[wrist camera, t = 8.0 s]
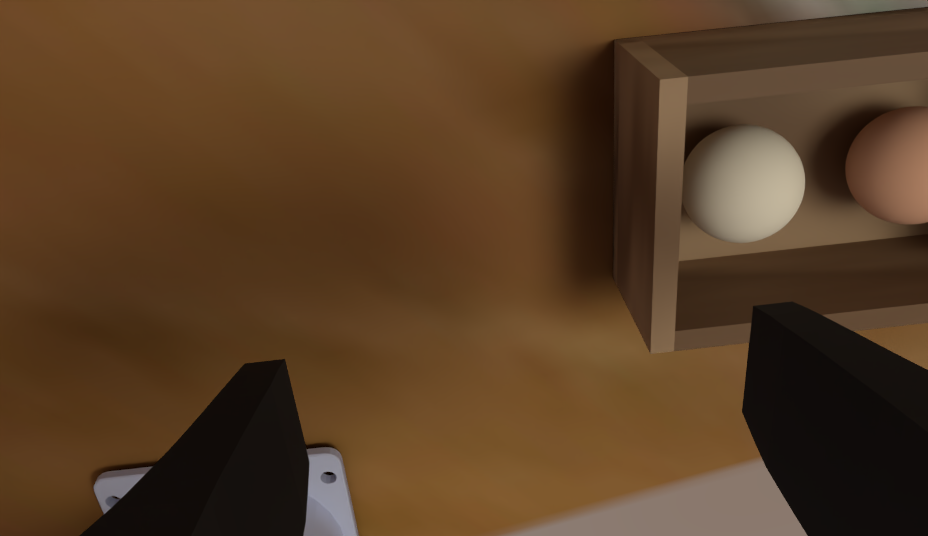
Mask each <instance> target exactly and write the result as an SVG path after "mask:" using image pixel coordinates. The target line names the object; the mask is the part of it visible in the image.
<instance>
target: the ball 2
mask: <svg viewBox="0 0 928 536" xmlns="http://www.w3.org/2000/svg"><path fill="white" fill-rule="evenodd" d="M845 172H846V180H847V184H848V187H849V189H850V192H851V193H852V195H853V197H854V198H855V200H856V201H857V202H858V203H859V205H860V206H861V207H862V208H864V209H865V210H866V211H867V212H869V213H870V214H872V215H874V216H875V217H877V218H880V219H882V220H885V221H888V222H892V223H897V224H906V225H907V224H921V223H926V222H928V107H923V106H912V107H904V108H899V109H896V110H892V111H889V112H887V113H884V114H882V115H881V116H879V117H877V118H876V119H874V120H873V121H871V122H870V123H869V124H867V125H866V126H865V127H864V128H863V129H862V130H861V131H860V132H859V134H858V135H857V136H856V138H855V139H854V141H853V142H852V144H851V147H850V149H849V151H848V154H847V158H846V165H845Z"/></svg>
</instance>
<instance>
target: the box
mask: <svg viewBox="0 0 928 536" xmlns="http://www.w3.org/2000/svg"><path fill="white" fill-rule="evenodd" d="M912 106H923V107H928V7H924V8H914V9H905V10H895V11H885V12H876V13H866V14H857V15H847V16H837V17H828V18H818V19H808V20H799V21H789V22H780V23H770V24H760V25H751V26H741V27H731V28H722V29H712V30H703V31H693V32H683V33H674V34H664V35H654V36H645V37H635V38H626V39H616V40H614V196H613V279H614V281H615V283H616V285H617V287H618V289H619V291H620V293H621V295H622V297H623V299H624V301H625V303H626V305H627V307H628V309H629V311H630V313H631V315H632V317H633V319H634V321H635V323H636V325H637V327H638V329H639V331H640V333H641V335H642V337H643V339H644V342H645V344H646V346H647V348H648V350H649V352H650V354H653V353H662V352H670V351H679V350H688V349H697V348H706V347H715V346H724V345H733V344H742V343H749V341H750V331H751V321H752V311H753V306H756V305H765V304H774V303H782V302H791V301H793V302H795V303H797V304H800V305H802V306H804V307H806V308H808V309H811V310H813V311H815V312H817V313H819V314H821V315H823V316H825V317H827V318H828V319H830V320H832V321H834V322H836V323H838V324H840V325H842V326H844V327H846V328H848V329H849V330H851V331H859V330H868V329H877V328H886V327H895V326H904V325H913V324H922V323H928V222H926V223H921V224H907V225H906V224H897V223H892V222H888V221H885V220H882V219H880V218H877V217H875V216H874V215H872V214H870V213H869V212H867V211H866V210H865V209H864V208H862V207H861V206H860V205H859V203H858V202H857V201H856V200H855V198H854V197H853V195H852V193H851V192H850V189H849V187H848V184H847V180H846V172H845V165H846V158H847V154H848V151H849V149H850V147H851V144H852V142H853V141H854V139H855V138H856V136H857V135H858V134H859V132H860V131H861V130H862V129H863V128H864V127H865V126H866V125H867V124H869V123H870V122H871V121H873V120H874V119H876V118H877V117H879V116H881V115H882V114H884V113H887V112H889V111H892V110H896V109H899V108H904V107H912ZM734 125H756V126H760V127H764V128H767V129H770V130H772V131H774V132H776V133H777V134H779V135H781V136H782V137H783V138H785V139H786V140H787V141H788V142H789V143H790V144H791V145H792V146H793V148H794V149H795V150H796V152H797V154H798V155H799V157H800V159H801V162H802V165H803V169H804V173H805V190H804V195H803V199H802V202H801V204H800V206H799V208H798V210H797V212H796V213H795V215H794V216H793V218H792V219H791V220H790V221H789V222H788V223H787V224H786V225H785V226H784V227H783V228H782V229H781V230H779V231H778V232H776V233H775V234H773V235H771V236H769V237H766V238H764V239H761V240H758V241H754V242H748V243H733V242H727V241H723V240H720V239H717V238H714V237H712V236H710V235H709V234H707V233H705V232H704V231H703V230H701V229H700V228H699V227H698V226H697V225H696V224H695V223H694V222H693V221H692V220H691V218H690V217H689V215H688V214H687V212H686V210H685V208H684V205H683V202H682V186H683V167H684V164H685V162H686V160H687V158H688V156H689V154H690V153H691V151H692V150H693V149H694V148H695V147H696V145H697V144H698V143H699V142H700V141H702V140H703V139H704V138H705V137H707V136H708V135H710V134H712V133H713V132H715V131H717V130H720V129H722V128H725V127H729V126H734Z"/></svg>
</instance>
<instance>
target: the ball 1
mask: <svg viewBox="0 0 928 536" xmlns="http://www.w3.org/2000/svg"><path fill="white" fill-rule="evenodd" d="M804 190H805V173H804V169H803V165H802V162H801V159H800V157H799V155H798V154H797V152H796V150H795V149H794V148H793V146H792V145H791V144H790V143H789V142H788V141H787V140H786V139H785V138H783V137H782V136H781V135H779V134H777V133H776V132H774V131H772V130H770V129H767V128H764V127H760V126H756V125H734V126H729V127H725V128H722V129H720V130H717V131H715V132H713V133H712V134H710V135H708V136H707V137H705V138H704V139H703V140H702V141H700V142H699V143H698V144H697V145H696V147H695V148H694V149H693V150H692V151H691V153H690V154H689V156H688V158H687V160H686V162H685V164H684V167H683V186H682V202H683V205H684V208H685V210H686V212H687V214H688V215H689V217H690V218H691V220H692V221H693V222H694V223H695V224H696V225H697V226H698V227H699V228H700V229H701V230H703V231H704V232H705V233H707V234H709V235H710V236H712V237H714V238H717V239H720V240H723V241H727V242H733V243H748V242H754V241H758V240H761V239H764V238H766V237H769V236H771V235H773V234H775V233H776V232H778V231H779V230H781V229H782V228H783V227H784V226H785V225H786V224H787V223H788V222H789V221H790V220H791V219H792V218H793V216H794V215H795V213H796V212H797V210H798V208H799V206H800V204H801V202H802V199H803V195H804Z"/></svg>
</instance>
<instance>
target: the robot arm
mask: <svg viewBox="0 0 928 536" xmlns="http://www.w3.org/2000/svg"><path fill="white" fill-rule="evenodd" d="M742 413H743V415H744V417H745V420H746V422H747V425H748V427H749V429H750V432H751V434H752V437H753V439H754V441H755V444H756V446H757V448H758V450H759V452H760V455H761V457H762V459H763V461H764V463H765V466H766V468H767V469H768V471H769V473H770V474H771V476H772V478H773V480H774V481H775V483H776V485H777V486H778V488H779V489H780V491H781V493H782V494H783V496H784V498H785V499H786V501H787V503H788V504H789V506H790V508H791V509H792V511H793V513H794V514H795V516H796V517H797V519H798V521H799V522H800V524H801V525H802V527H803V529H804V530H805V532H806V534H807V535H808V536H928V370H927V369H925V368H923V367H921V366H919V365H917V364H915V363H913V362H911V361H909V360H907V359H905V358H903V357H901V356H899V355H897V354H895V353H893V352H891V351H889V350H887V349H886V348H884V347H882V346H880V345H878V344H876V343H874V342H872V341H870V340H868V339H867V338H865V337H863V336H861V335H859V334H857V333H855V332H853V331H851V330H849V329H848V328H846V327H844V326H842V325H840V324H838V323H836V322H834V321H832V320H830V319H828V318H827V317H825V316H823V315H821V314H819V313H817V312H815V311H813V310H811V309H808V308H806V307H804V306H802V305H800V304H797V303H795V302H793V301H791V302H782V303H774V304H765V305H756V306H753V311H752V321H751V331H750V341H749V350H748V360H747V370H746V379H745V389H744V399H743V408H742ZM324 472H333V473H334V474H333V475H326V474H324ZM94 492H95V495H96V497H97V499H98V502H99V504H100V506H101V509H102V511H103V513H104V515H103V516H102V517H100V518H99V519H98V520H97V521H96V522H95V523H94V524H93V525H91V526H90V527H89V528H88V529H87V530H86V531H84V532H83V533H82V534H81V535H80V536H359V534H358V530H357V525H356V520H355V515H354V511H353V506H352V501H351V497H350V492H349V487H348V483H347V478H346V473H345V469H344V464H343V459H342V456H341V454H340V452H338V451H337V450H336V449H334V448H331V447H320V448H312V449H306V445H305V441H304V437H303V433H302V429H301V424H300V420H299V416H298V412H297V408H296V404H295V399H294V395H293V391H292V387H291V383H290V379H289V374H288V370H287V366H286V362H285V359H282V360H273V361H264V362H255V363H246V364H244V365H243V366H242V367H241V368H240V370H239V371H238V372H237V373H236V374H235V375H234V376H233V378H232V379H231V380H230V381H229V382H228V383H227V385H226V386H225V387H224V388H223V389H222V390H221V391H220V393H219V394H218V395H217V396H216V397H215V398H214V400H213V401H212V402H211V403H210V404H209V405H208V407H207V408H206V409H205V410H204V411H203V412H202V414H201V415H200V416H199V417H198V418H197V419H196V421H195V422H194V423H193V424H192V425H191V426H190V427H189V428H188V430H187V431H186V432H185V433H184V434H183V435H182V436H181V437H180V438H179V440H178V441H177V442H176V443H175V444H174V445H173V446H172V447H171V449H170V450H169V451H168V452H167V453H166V454H165V455H164V456H163V457H162V458H161V459H160V460H159V461H158V462H157V463H156V464H155V465H154V466H152V467H143V468H134V469H126V470H117V471H108V472H104V473H102V474H101V475H99V476H98V478H97V480H96V482H95V484H94ZM112 496H116V497H118V498H120V499H115V498H113V497H112Z"/></svg>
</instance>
